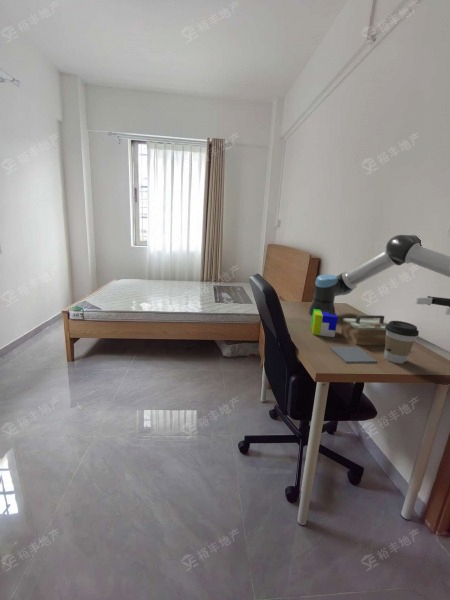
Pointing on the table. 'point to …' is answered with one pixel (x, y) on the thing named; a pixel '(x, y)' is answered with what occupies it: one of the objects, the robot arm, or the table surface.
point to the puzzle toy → (324, 322)
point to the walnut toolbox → (365, 330)
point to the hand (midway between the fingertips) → (430, 305)
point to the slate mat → (353, 355)
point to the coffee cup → (399, 340)
